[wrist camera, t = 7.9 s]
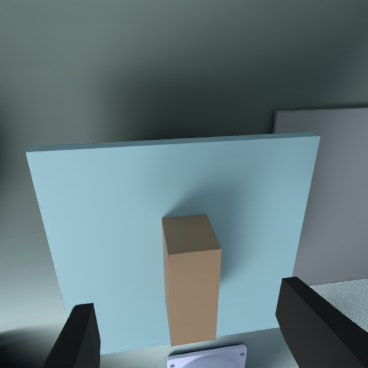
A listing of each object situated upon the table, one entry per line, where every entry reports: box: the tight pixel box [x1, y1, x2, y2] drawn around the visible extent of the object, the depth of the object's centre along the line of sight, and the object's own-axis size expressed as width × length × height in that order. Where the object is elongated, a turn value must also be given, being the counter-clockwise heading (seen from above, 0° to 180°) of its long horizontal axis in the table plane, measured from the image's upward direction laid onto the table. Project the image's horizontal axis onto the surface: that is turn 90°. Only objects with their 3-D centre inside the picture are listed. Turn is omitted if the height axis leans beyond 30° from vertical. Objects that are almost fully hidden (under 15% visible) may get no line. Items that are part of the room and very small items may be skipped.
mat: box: [272, 107, 368, 286], centre depth 24 cm, size 16×16×1 cm
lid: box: [26, 132, 320, 355], centre depth 16 cm, size 14×14×4 cm
